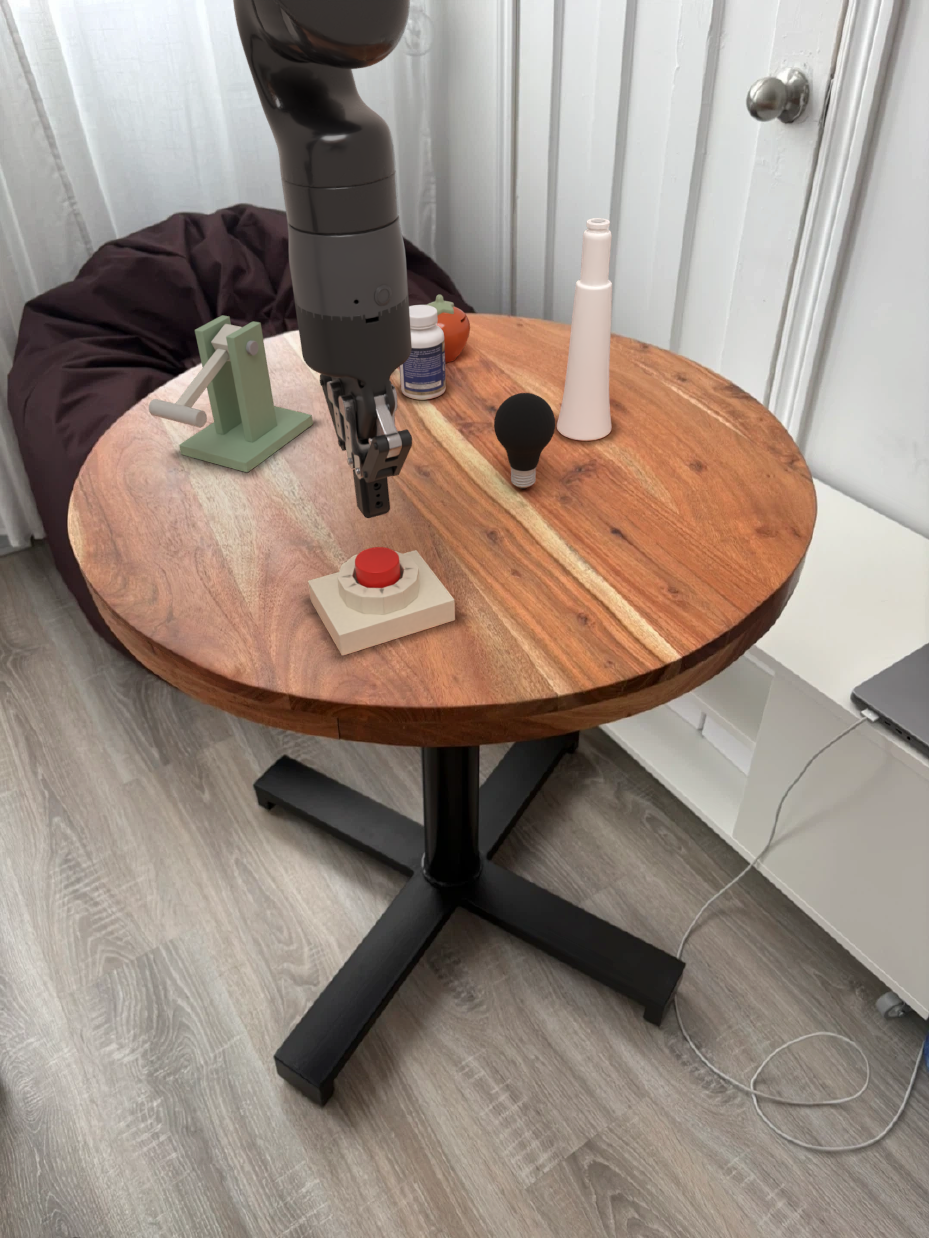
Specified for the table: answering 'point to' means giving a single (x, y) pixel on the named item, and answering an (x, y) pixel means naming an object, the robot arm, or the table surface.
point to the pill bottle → (424, 356)
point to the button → (377, 567)
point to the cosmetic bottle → (590, 342)
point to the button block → (380, 604)
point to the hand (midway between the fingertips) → (374, 511)
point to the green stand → (241, 404)
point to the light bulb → (524, 434)
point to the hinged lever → (196, 386)
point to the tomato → (451, 327)
